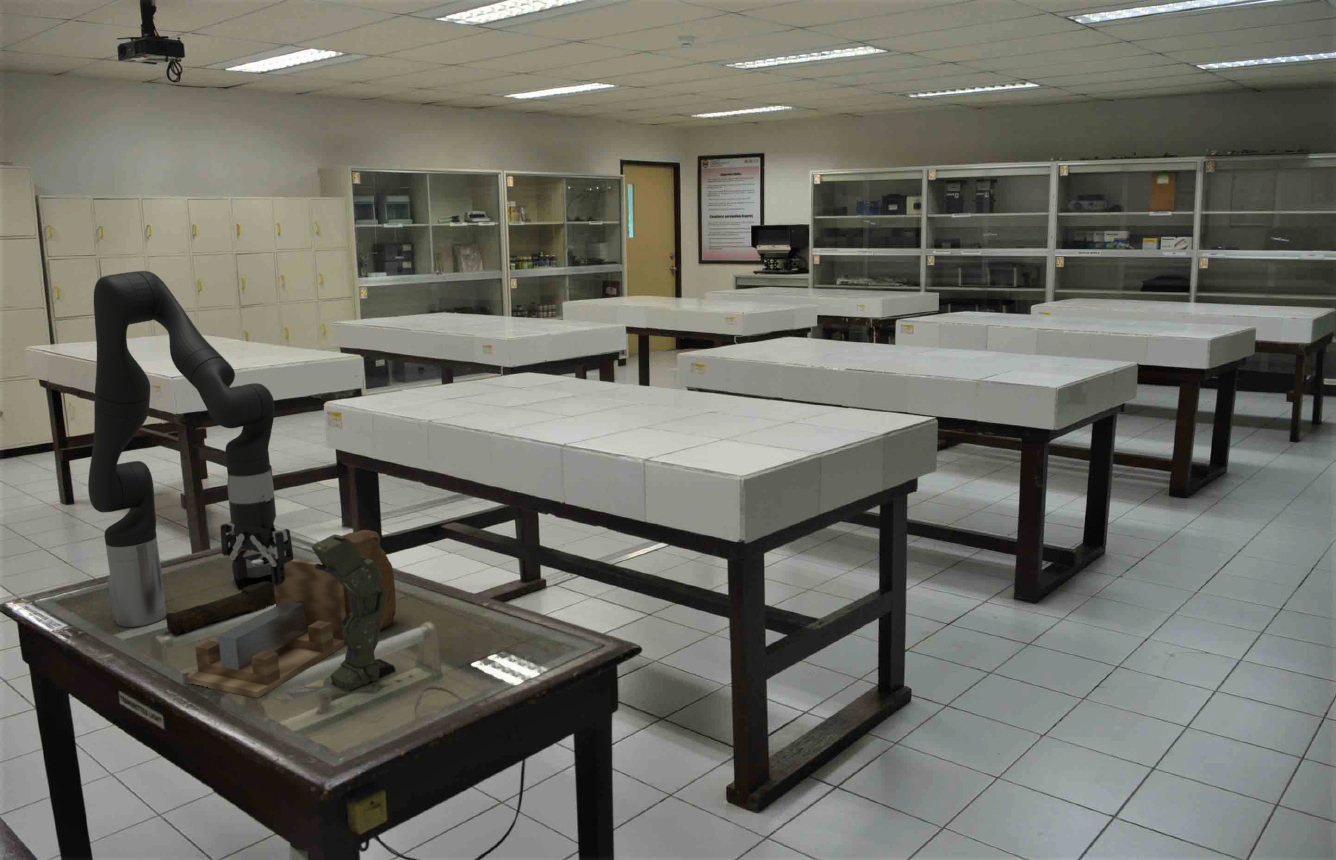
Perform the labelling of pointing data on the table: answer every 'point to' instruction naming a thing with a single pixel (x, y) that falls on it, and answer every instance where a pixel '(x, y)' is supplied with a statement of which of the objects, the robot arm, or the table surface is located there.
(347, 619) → the mechanical leg
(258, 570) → the cpu cooler
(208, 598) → the table surface
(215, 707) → the table surface
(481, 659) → the table surface
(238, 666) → the rail
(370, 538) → the brown rounded piece
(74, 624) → the table surface
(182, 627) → the dark brown bar
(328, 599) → the post cradle
